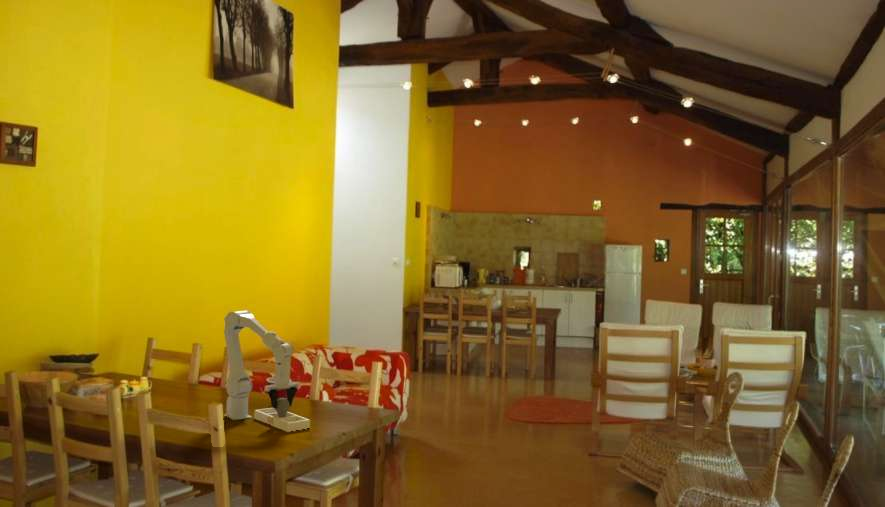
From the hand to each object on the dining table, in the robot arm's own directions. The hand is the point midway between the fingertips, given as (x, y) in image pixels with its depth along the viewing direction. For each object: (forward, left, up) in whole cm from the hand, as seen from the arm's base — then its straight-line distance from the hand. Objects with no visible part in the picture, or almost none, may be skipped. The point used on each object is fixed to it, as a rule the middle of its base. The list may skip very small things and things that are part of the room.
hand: (281, 407), depth 295 cm
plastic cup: (-29, +15, -7) cm, 33 cm away
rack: (0, 0, -7) cm, 7 cm away
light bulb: (+1, 0, -6) cm, 6 cm away
